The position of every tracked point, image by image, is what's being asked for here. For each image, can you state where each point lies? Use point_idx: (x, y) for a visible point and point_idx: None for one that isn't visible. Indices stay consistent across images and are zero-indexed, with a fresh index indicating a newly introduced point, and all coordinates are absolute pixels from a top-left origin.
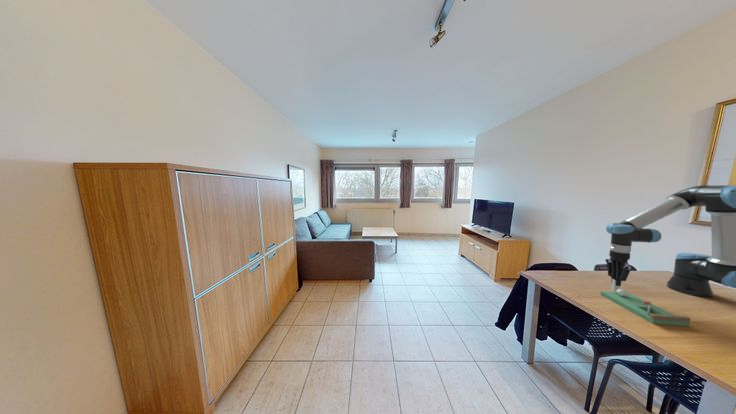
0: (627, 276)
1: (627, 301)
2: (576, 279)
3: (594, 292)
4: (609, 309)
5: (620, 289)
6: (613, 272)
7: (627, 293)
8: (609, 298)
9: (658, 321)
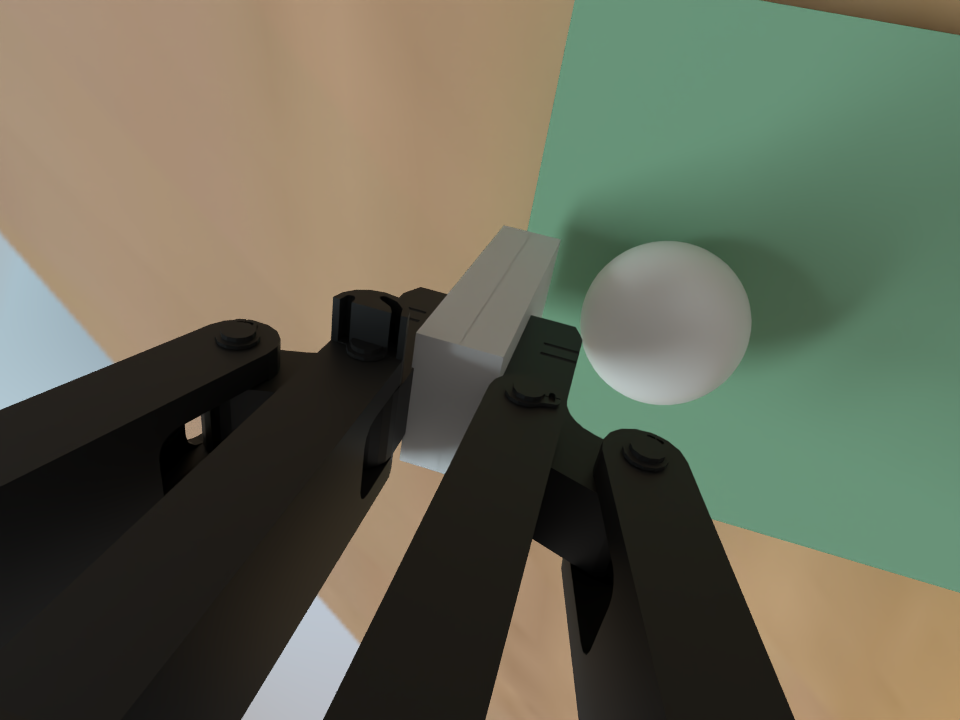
0: (764, 665)
1: (850, 438)
2: (18, 225)
3: None
4: (829, 691)
5: (652, 394)
6: (288, 634)
7: (748, 305)
8: None
9: None
